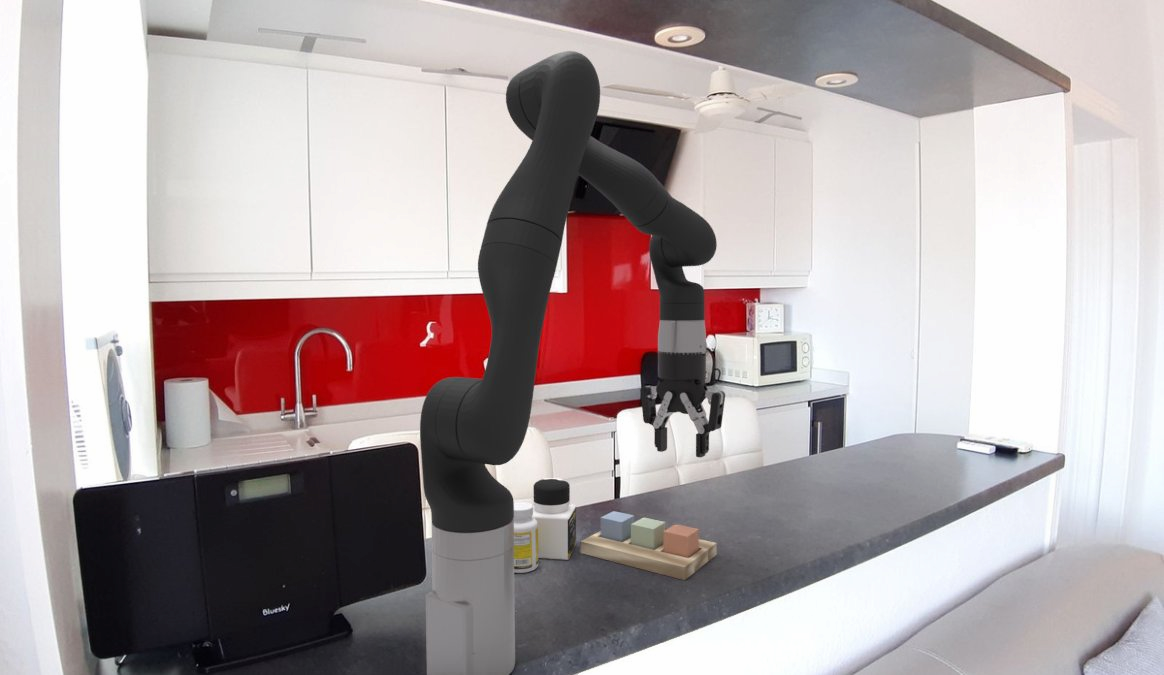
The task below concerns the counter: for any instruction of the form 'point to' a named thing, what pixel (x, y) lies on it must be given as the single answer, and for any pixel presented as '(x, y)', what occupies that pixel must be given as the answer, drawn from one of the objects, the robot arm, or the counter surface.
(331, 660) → the counter surface
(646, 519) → the sage button
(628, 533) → the slate button
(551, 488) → the medicine bottle
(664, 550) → the terracotta button
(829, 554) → the counter surface
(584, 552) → the board
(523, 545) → the supplement bottle
